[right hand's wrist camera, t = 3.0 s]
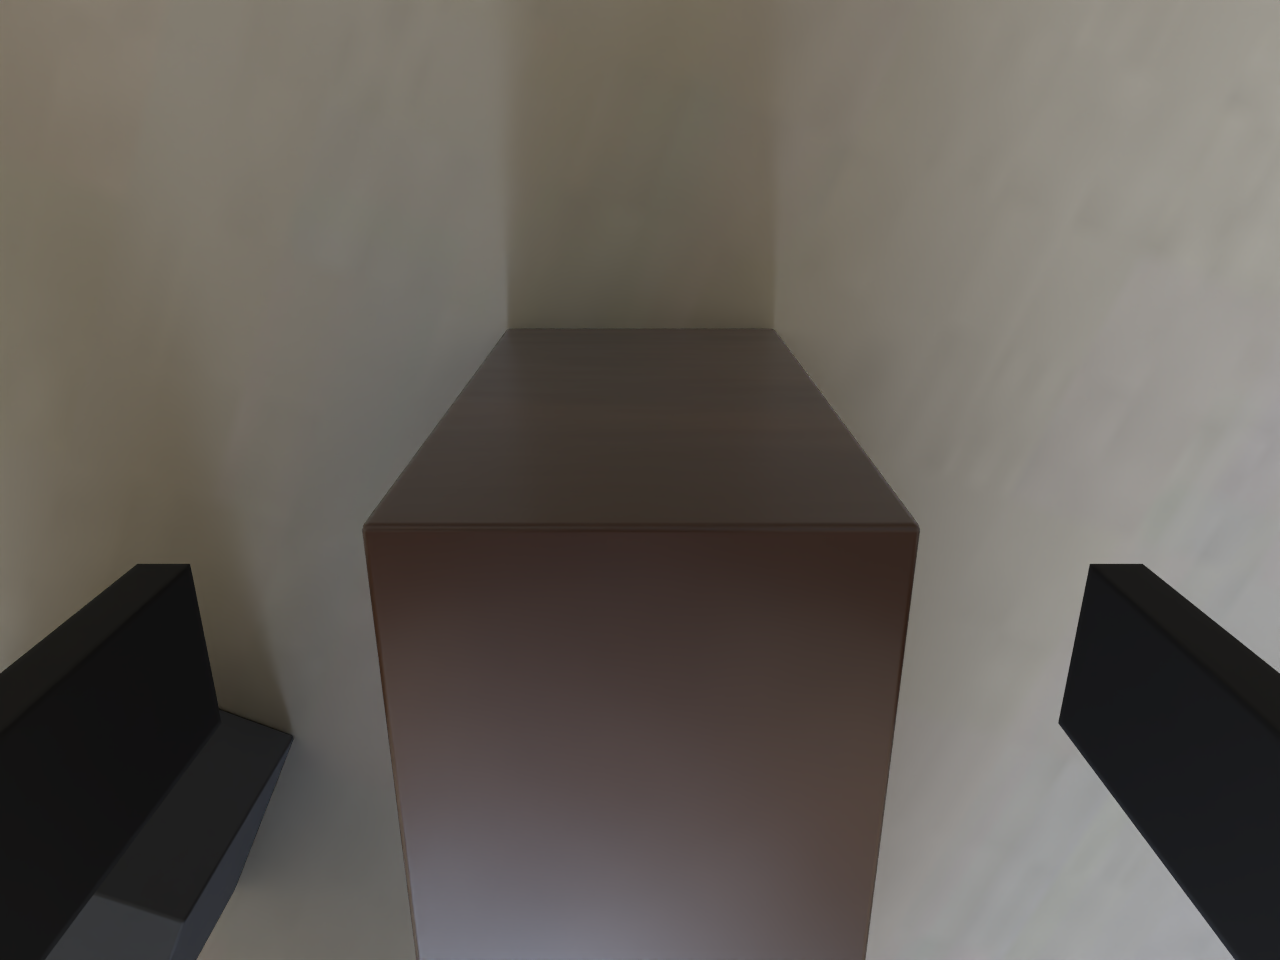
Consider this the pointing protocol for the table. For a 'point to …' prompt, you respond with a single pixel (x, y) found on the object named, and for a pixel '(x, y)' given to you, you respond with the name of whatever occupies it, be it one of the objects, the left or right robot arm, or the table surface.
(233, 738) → the grey rubber block
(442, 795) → the walnut beam
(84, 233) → the table surface
